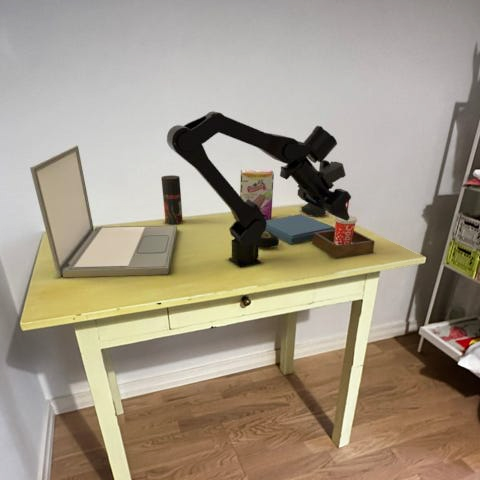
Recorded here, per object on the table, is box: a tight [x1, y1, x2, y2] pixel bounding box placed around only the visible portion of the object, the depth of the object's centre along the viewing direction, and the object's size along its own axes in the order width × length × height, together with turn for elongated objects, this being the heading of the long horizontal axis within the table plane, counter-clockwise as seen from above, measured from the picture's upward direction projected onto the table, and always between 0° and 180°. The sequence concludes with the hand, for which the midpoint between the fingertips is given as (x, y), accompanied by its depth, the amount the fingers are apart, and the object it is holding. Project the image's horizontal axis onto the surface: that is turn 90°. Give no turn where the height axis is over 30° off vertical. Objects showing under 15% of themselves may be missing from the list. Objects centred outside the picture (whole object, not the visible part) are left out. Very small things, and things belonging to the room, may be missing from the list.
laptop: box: [29, 145, 178, 278], centre depth 109 cm, size 35×28×26 cm
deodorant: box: [161, 174, 184, 226], centre depth 136 cm, size 6×6×15 cm
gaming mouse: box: [300, 203, 327, 217], centre depth 149 cm, size 6×15×4 cm, turn 23°
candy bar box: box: [239, 169, 275, 220], centre depth 138 cm, size 11×5×16 cm, turn 93°
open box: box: [311, 230, 376, 259], centre depth 117 cm, size 13×13×4 cm
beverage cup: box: [333, 200, 358, 245], centre depth 114 cm, size 6×6×14 cm
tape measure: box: [259, 231, 280, 249], centre depth 118 cm, size 7×7×4 cm
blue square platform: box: [264, 213, 335, 245], centre depth 130 cm, size 18×18×2 cm
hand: (338, 214), depth 112 cm, fingers open, 9 cm apart
